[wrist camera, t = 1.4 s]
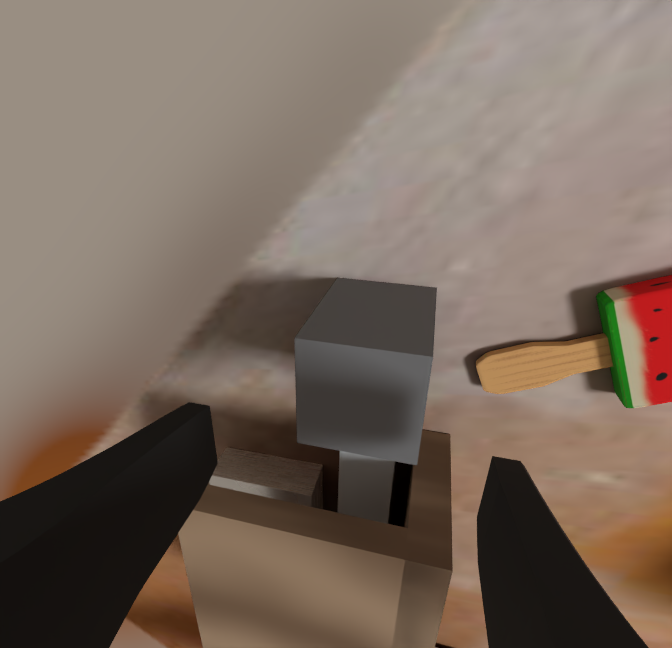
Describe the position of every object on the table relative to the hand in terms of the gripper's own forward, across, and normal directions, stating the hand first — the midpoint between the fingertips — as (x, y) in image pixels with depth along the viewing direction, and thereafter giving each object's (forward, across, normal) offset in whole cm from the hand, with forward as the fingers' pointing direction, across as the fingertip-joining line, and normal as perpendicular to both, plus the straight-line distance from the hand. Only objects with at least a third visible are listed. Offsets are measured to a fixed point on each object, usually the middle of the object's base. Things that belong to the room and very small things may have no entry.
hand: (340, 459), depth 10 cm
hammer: (+8, 0, +7) cm, 10 cm away
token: (+8, +5, +12) cm, 15 cm away
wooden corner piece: (+8, +1, +12) cm, 14 cm away
